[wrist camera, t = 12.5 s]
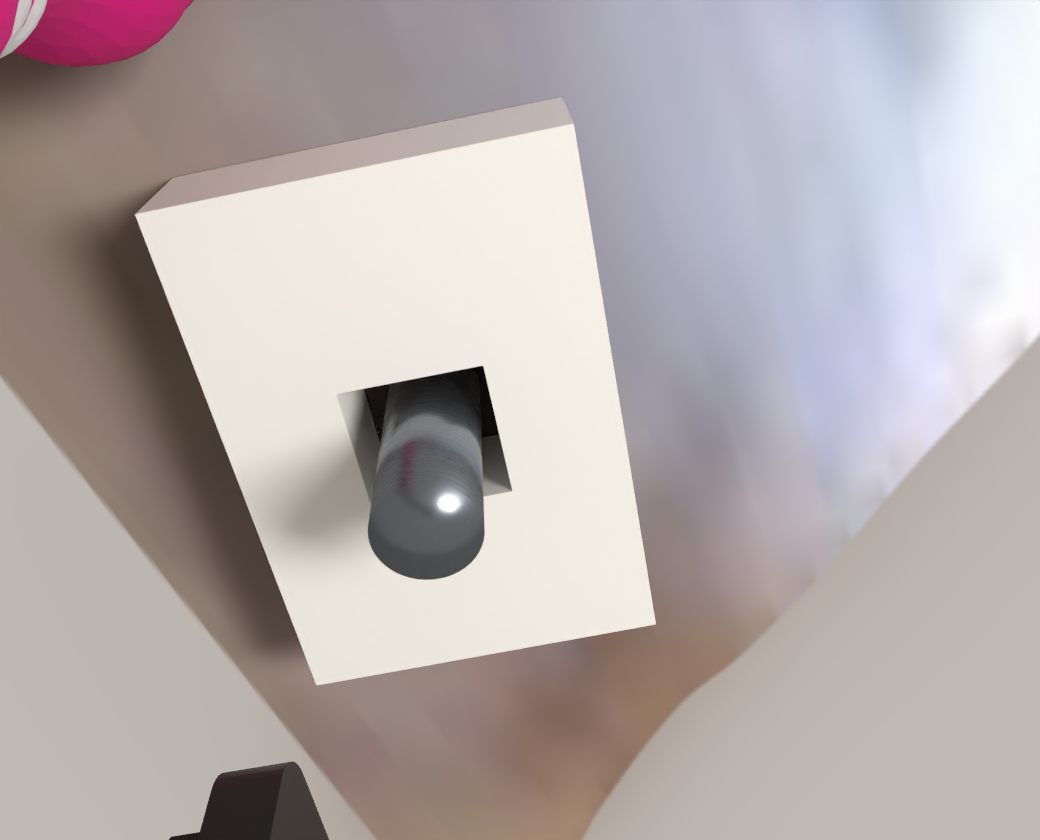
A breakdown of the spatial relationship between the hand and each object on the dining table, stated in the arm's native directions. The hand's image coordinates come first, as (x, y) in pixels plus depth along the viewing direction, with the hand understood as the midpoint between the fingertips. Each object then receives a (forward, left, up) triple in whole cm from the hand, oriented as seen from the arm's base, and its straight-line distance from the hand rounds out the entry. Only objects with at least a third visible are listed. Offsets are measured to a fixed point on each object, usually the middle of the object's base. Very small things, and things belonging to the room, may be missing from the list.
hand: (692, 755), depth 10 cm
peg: (+9, -6, -28) cm, 30 cm away
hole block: (+9, -6, -28) cm, 30 cm away
